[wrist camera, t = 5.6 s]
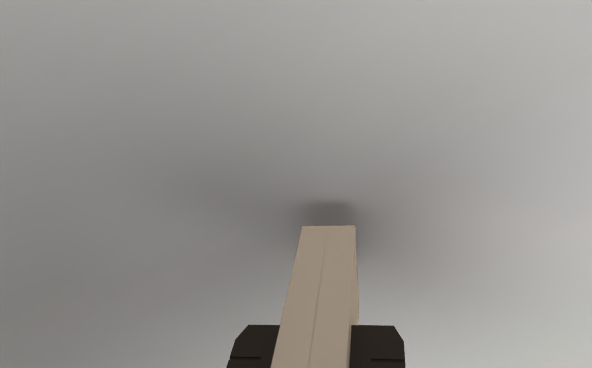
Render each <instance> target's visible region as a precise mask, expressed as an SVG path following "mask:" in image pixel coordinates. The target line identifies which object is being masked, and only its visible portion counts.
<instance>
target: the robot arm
mask: <svg viewBox="0 0 592 368" xmlns="http://www.w3.org/2000/svg"><path fill="white" fill-rule="evenodd" d="M358 315H359V292H358V273H357V254H356V234H355V225H348V226H302V231H301V235H300V240H299V244H298V248H297V253H296V257H295V262H294V266H293V271H292V275H291V280H290V284H289V288H288V293H287V297H286V302H285V306H284V311H283V315H282V319H281V324H280V325H248V326H247V327H246V328H245V329H244V330H243V332H242V333H241V334H240V335H239V336H238V337H237V338H236V340H235V343H234V346H233V349H232V352H231V355H230V360H229V361H228V364H227V368H405V354H404V341H403V340H402V338H401V336H400V335H399V333H398V332H397V330H396V329H395V327H394V326H377V325H358Z"/></svg>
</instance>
